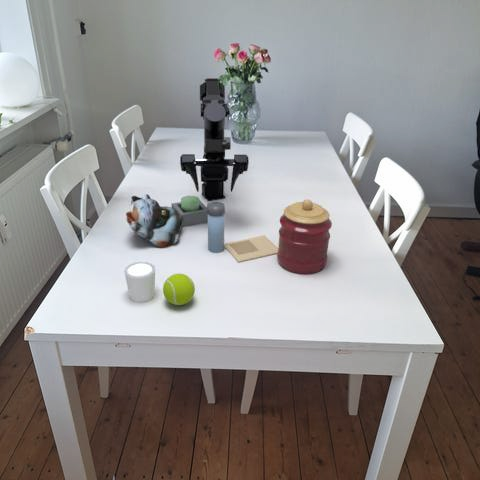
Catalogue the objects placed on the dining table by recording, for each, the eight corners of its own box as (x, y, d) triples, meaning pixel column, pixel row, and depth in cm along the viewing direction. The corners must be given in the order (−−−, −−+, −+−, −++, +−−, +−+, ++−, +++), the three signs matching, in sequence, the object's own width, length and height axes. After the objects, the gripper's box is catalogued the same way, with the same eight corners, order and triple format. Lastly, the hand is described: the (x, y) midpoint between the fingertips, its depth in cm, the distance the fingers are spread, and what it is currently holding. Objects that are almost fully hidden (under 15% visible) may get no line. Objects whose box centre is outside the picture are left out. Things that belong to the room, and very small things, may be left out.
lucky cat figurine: (174, 251, 124) (146, 214, 116) (139, 258, 130) (109, 223, 122) (189, 214, 135) (164, 177, 127) (156, 222, 140) (130, 187, 132)
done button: (195, 206, 144) (195, 194, 142) (202, 213, 140) (201, 201, 138) (179, 209, 142) (178, 197, 140) (185, 216, 138) (184, 204, 136)
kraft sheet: (264, 236, 133) (264, 234, 133) (281, 252, 125) (281, 251, 125) (222, 245, 128) (222, 243, 128) (238, 262, 120) (238, 261, 120)
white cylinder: (128, 286, 110) (126, 261, 106) (158, 286, 110) (156, 261, 107) (125, 304, 104) (122, 278, 100) (156, 303, 104) (154, 277, 101)
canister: (314, 280, 114) (321, 216, 105) (267, 265, 120) (271, 202, 111) (334, 258, 124) (342, 197, 115) (290, 244, 130) (295, 185, 121)
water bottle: (220, 243, 129) (220, 200, 123) (227, 250, 126) (227, 207, 119) (205, 246, 127) (204, 203, 121) (211, 254, 124) (211, 210, 118)
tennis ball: (173, 315, 101) (172, 288, 97) (158, 299, 106) (156, 273, 102) (200, 304, 104) (200, 278, 101) (185, 289, 109) (184, 264, 106)
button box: (199, 210, 148) (198, 199, 146) (209, 222, 140) (209, 210, 138) (172, 215, 144) (171, 203, 142) (181, 227, 137) (181, 215, 135)
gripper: (179, 125, 123) (178, 179, 119) (249, 125, 124) (250, 179, 120) (181, 144, 134) (181, 195, 129) (246, 145, 135) (247, 195, 131)
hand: (214, 191), depth 127 cm, fingers open, 9 cm apart
